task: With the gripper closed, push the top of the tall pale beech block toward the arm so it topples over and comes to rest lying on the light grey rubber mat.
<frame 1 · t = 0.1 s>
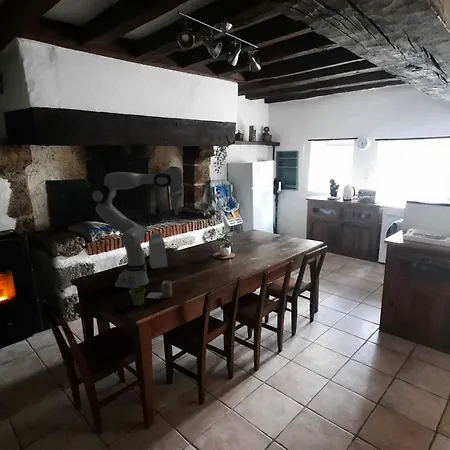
hand: (178, 213, 211), 48 cm above the table, fingers open, 8 cm apart
grey mat: (154, 295, 204), on the table
beech block: (167, 295, 203), on the table
plant pot: (138, 304, 194), on the table
milk: (158, 265, 257), on the table
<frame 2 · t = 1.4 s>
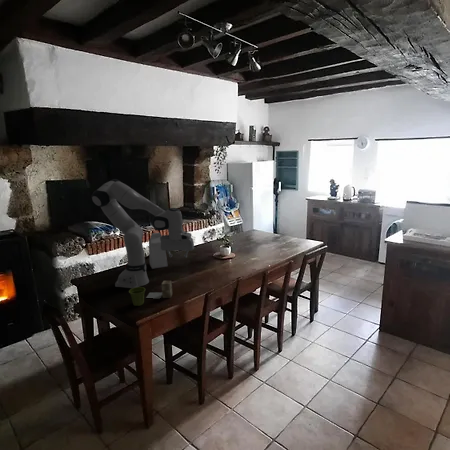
hand: (178, 257, 199), 25 cm above the table, fingers open, 8 cm apart
nothing on the table moved.
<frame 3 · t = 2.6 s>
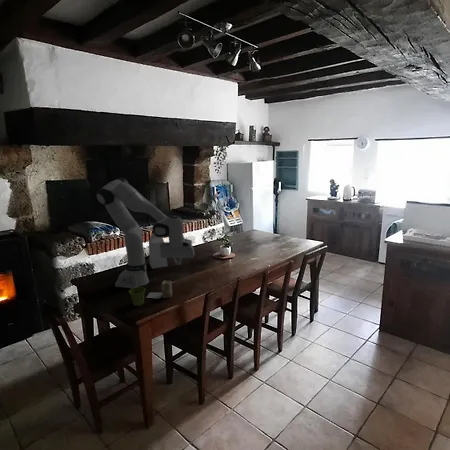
hand: (178, 264, 198), 21 cm above the table, fingers closed
nothing on the table moved.
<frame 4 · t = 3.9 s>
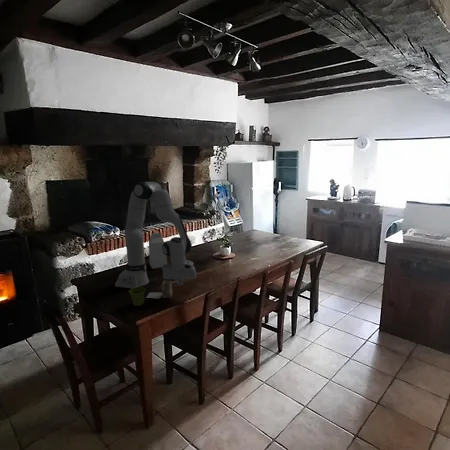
hand: (180, 285, 201), 7 cm above the table, fingers closed
nothing on the table moved.
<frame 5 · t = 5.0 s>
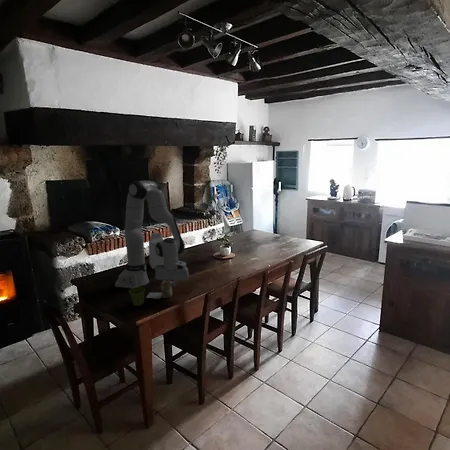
hand: (172, 285, 201), 7 cm above the table, fingers closed
beech block: (167, 295, 203), on the table, touching gripper
everything else where it was.
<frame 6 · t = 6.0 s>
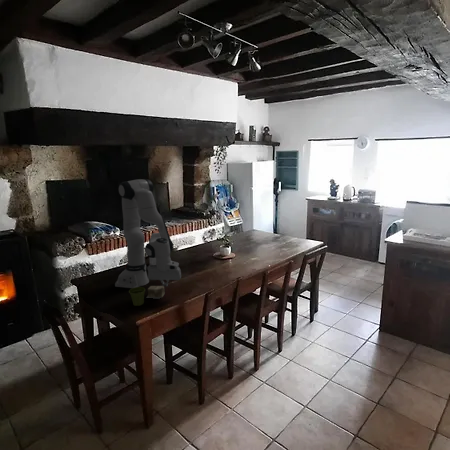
hand: (165, 286, 202), 7 cm above the table, fingers closed
beech block: (163, 291, 203), point 3 cm above the table, tilted 90°, touching grey mat
everything else where it was.
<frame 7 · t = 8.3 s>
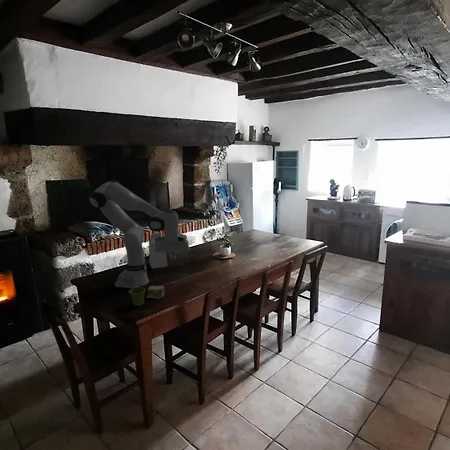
hand: (172, 259, 197), 24 cm above the table, fingers closed
nothing on the table moved.
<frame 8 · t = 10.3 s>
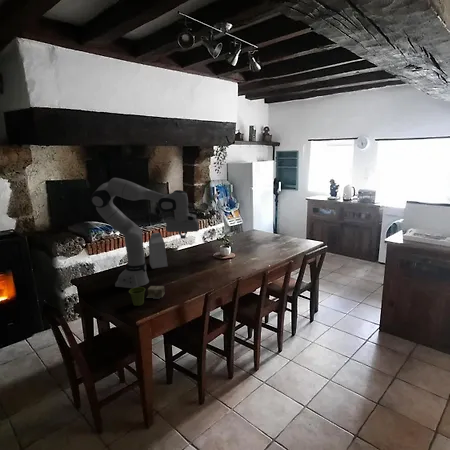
hand: (183, 238, 204), 34 cm above the table, fingers closed
nothing on the table moved.
at the end: beech block tilted 90°; beech block inside the target area (4.1 cm from its centre), point 2.8 cm above the table; beech block touching grey mat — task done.
